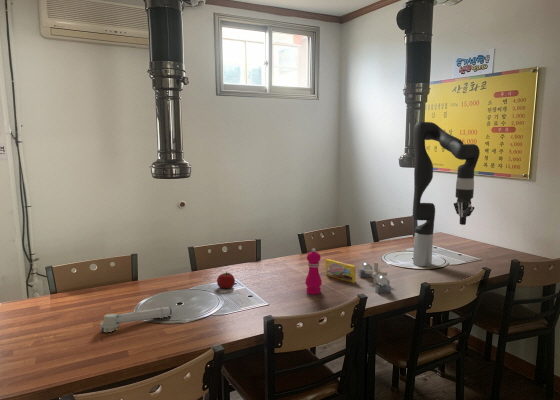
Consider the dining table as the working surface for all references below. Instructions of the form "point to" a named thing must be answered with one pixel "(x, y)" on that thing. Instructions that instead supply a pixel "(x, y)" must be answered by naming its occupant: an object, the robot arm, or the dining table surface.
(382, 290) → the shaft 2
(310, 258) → the pepper mill
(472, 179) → the robot arm
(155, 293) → the dining table surface
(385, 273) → the pipe connector
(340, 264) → the candy box
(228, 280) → the tomato
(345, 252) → the dining table surface
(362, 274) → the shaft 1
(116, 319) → the toothbrush head
